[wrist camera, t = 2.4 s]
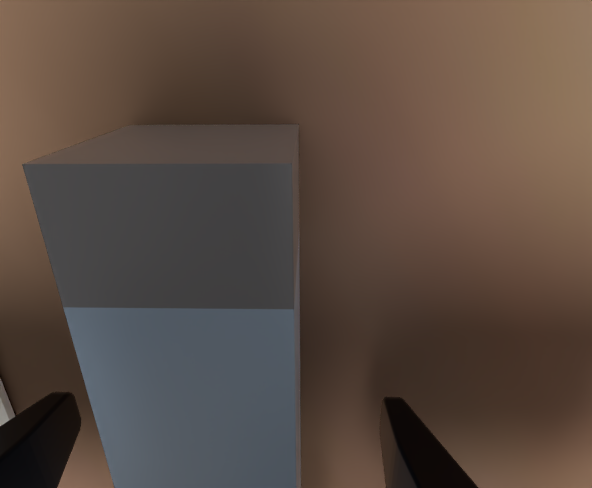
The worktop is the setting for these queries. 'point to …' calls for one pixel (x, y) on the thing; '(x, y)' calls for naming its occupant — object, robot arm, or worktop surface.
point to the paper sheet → (5, 406)
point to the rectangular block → (183, 297)
